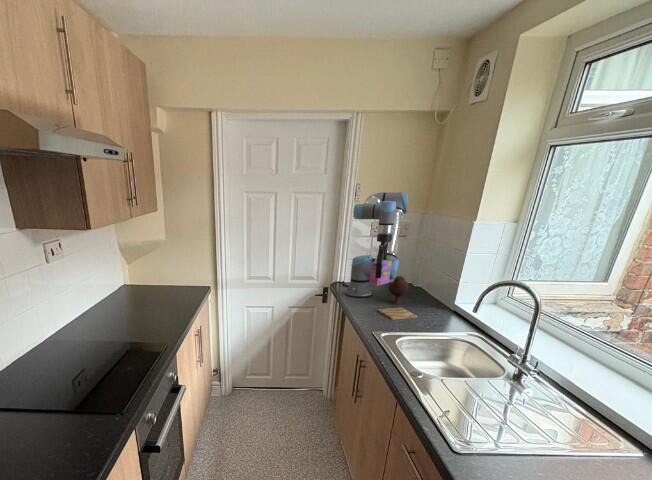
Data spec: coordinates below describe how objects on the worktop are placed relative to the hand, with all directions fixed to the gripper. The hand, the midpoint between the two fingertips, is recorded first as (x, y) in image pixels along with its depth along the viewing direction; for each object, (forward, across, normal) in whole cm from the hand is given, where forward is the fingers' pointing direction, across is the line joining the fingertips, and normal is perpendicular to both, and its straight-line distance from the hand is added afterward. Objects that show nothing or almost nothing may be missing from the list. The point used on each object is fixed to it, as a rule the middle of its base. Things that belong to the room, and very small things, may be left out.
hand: (379, 275), depth 224 cm
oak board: (+17, -11, -13) cm, 24 cm away
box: (+4, 0, 0) cm, 4 cm away
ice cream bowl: (+17, +13, -9) cm, 23 cm away
